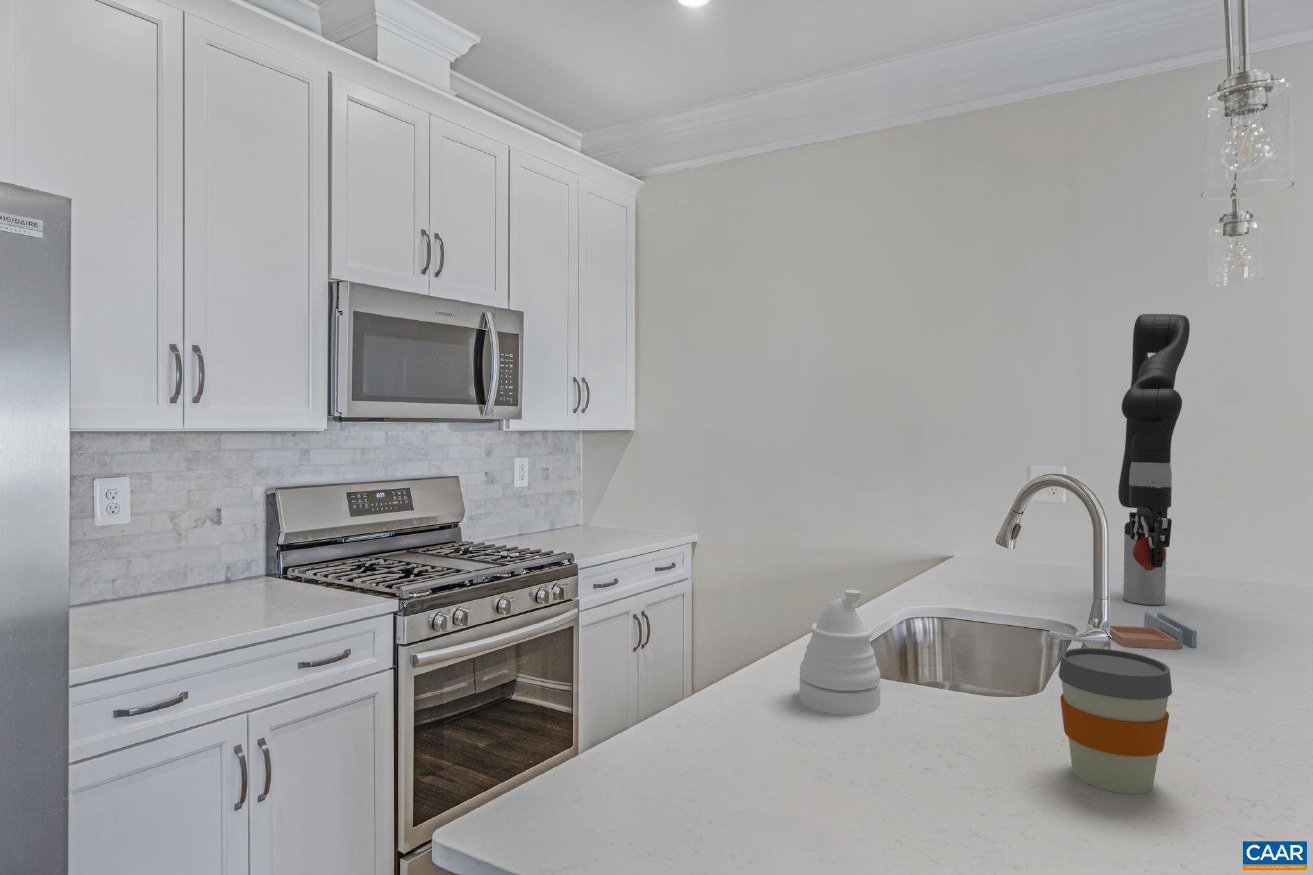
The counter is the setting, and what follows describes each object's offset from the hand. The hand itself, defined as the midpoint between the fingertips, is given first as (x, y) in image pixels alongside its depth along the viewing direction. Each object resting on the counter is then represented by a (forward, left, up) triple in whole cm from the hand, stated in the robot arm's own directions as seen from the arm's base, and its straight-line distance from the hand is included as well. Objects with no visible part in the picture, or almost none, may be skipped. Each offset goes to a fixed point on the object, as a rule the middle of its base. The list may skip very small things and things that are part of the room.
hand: (1148, 564), depth 165 cm
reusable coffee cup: (+71, -32, -17) cm, 80 cm away
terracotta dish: (0, -1, -16) cm, 16 cm away
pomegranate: (0, 0, -2) cm, 2 cm away
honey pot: (+49, -65, -17) cm, 83 cm away
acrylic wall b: (-4, +5, -16) cm, 17 cm away
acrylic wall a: (-5, +8, -16) cm, 19 cm away
